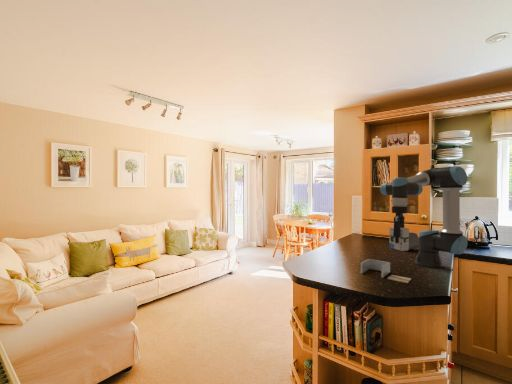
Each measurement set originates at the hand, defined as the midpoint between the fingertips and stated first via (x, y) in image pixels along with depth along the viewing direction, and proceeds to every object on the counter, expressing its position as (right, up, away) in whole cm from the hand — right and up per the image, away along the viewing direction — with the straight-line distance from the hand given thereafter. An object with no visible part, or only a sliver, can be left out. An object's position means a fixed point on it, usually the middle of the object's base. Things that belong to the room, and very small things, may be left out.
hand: (398, 248), depth 147 cm
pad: (0, -17, -1) cm, 17 cm away
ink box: (0, -1, 0) cm, 1 cm away
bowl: (+52, -20, +88) cm, 104 cm away
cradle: (-8, -17, +11) cm, 22 cm away
